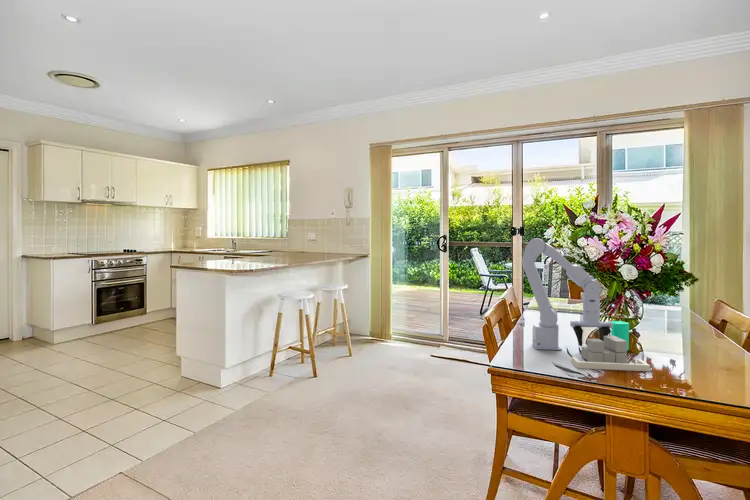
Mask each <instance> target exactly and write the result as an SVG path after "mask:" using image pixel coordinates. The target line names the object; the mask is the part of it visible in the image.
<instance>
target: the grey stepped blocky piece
mask: <svg viewBox="0 0 750 500" xmlns="http://www.w3.org/2000/svg"><path fill="white" fill-rule="evenodd" d="M586 340H587V341H586V343H587V344H586V346H580V347H581V348H580V350H581V352H580V353H581V354H580V357H581V358H583V360H584V359H585V361H586V362H608V363H628V353H627V352H628V350H627V341H625V340H623V339H620V338H618V337H616V336H611V335H608V336H604V342H603V341H601V340H600V338H587V339H586Z"/></svg>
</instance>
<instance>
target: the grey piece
mask: <svg viewBox="0 0 750 500" xmlns="http://www.w3.org/2000/svg"><path fill="white" fill-rule="evenodd" d="M570 362H571V364H572V365H573V366H574V367H575V368H577V369H589V370H593V369H594V370H608V371H609V370H610V371H611V370H612V371H632V372H633V371H635V372H636V371H639V372H651V365H650V364H649V363H647V362H646V361H644V360H643V359H641V358H637V359H636V363H631V362H630V363H629V362H627V363H608V362H589V361H582V360H581V361H580V360H579V359H578V358H577V357H576V356H571V360H570Z"/></svg>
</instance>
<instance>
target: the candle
mask: <svg viewBox="0 0 750 500" xmlns="http://www.w3.org/2000/svg"><path fill="white" fill-rule="evenodd" d="M610 322H611V323H613V328H610V329H611V331H610V333H611V334H610V336H616V337H618V338H620V339H623V340H625V341H627V351H629V350H630V348H629V347H630V323H629V322H625V321H622V320H611V321H610Z"/></svg>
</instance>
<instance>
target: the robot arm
mask: <svg viewBox="0 0 750 500" xmlns="http://www.w3.org/2000/svg"><path fill="white" fill-rule="evenodd" d="M541 254H542V256H544V257H545V256H546V257H549V258H551V259H552V260H553V261H555V262H556V263H557V264H558V265H559V266H560V267H562V268H563V269H565V270H566V276H567V277H568V278H569V279H570V280H571V281H572V282H574V283H575V284H576V286H578V287H581V288H582V290H583V298H582V320H570V321H569V326H570V327H571V328H572V329H573V331H574V334H575V336H576V338H577V344H578V346H579V347H583V333H584V329H583V328H598V332H599V340H601V341H603V342H604V336H609V334H610V333H611V328H613V323H611V321H601V320H600V319H601V316H600V315H601V300H600V297H601V296H600V293H601V292H602V287H601V284H600V283H599V282H598V281H597V280H596V279H594V276H593V275H590V274H589V273H588V272H587V271H585V270H584V269H585V268H584V266H582V265H578V264H572V263H571V262H570V261H569V260H568V259H566V257H564V255H562V254H561V253H560V252H559V251H558V250H557V249H556V248H555V247H554V246H552V245H550V244H549V243H547V242H545V241H544V240H543V239H542V238H538V237H536V238H535V237H534V238H532V239H531V240H529V241H528V243H527V244H526V246H525V247H524V252H523V256H522V259H521V265H522V267H523V270H524V273H525V275H526V279H527V280H528V284H529V285H530V288H531V290H532V293H533V296H534V299H535V301H536V304H537V307H538V311H539V321H540V322H538V324H533V326H532V342H531V344H532V346H533V347H534V348H535V349H536V350H550V351H552V350H553V351H562V347H560V346H559V324H558V318H559V317H558V312H557V310H556V309H555V308H554V307H553V306H552V303H551V301H550V298H549V297H548V294H547V291H546V289H545V286H544V283H543V282H542V279H541V277H540V273H539V271H538V269H537V266H536V261H537V259H538V257H539V256H540V255H541Z"/></svg>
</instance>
